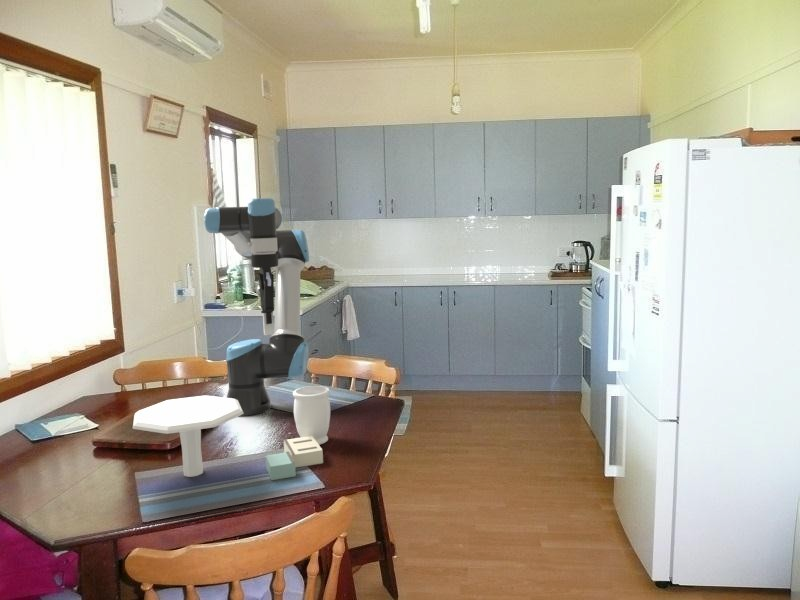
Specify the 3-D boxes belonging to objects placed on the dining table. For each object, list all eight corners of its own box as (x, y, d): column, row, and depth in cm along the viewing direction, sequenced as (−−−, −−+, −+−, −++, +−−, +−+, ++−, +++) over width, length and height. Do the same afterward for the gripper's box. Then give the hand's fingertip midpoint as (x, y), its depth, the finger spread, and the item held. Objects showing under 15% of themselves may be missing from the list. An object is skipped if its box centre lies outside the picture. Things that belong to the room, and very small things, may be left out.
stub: (266, 468, 164) (265, 455, 163) (289, 464, 166) (288, 451, 165) (271, 480, 156) (270, 466, 156) (295, 476, 158) (294, 462, 158)
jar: (325, 448, 177) (322, 396, 175) (289, 447, 179) (286, 395, 177) (336, 435, 187) (334, 385, 185) (303, 434, 189) (300, 385, 187)
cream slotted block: (284, 452, 175) (283, 439, 174) (312, 447, 178) (312, 435, 177) (292, 468, 164) (292, 454, 163) (323, 462, 166) (322, 449, 166)
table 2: (161, 453, 177) (156, 395, 175) (261, 451, 176) (257, 392, 174) (113, 498, 149) (106, 429, 147) (231, 496, 148) (226, 427, 146)
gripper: (247, 252, 186) (252, 332, 189) (254, 254, 174) (259, 339, 177) (273, 251, 189) (278, 329, 192) (281, 253, 177) (286, 337, 180)
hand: (269, 334), depth 185 cm, fingers closed
